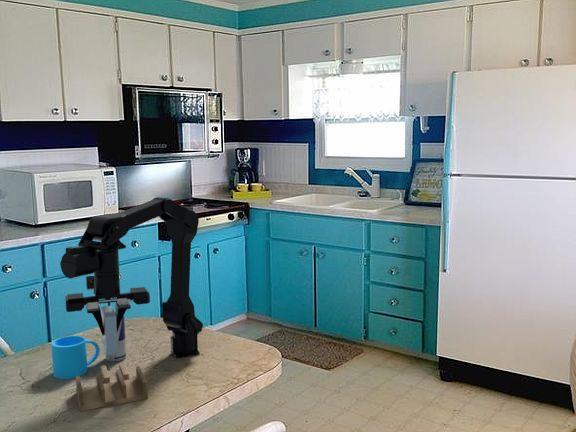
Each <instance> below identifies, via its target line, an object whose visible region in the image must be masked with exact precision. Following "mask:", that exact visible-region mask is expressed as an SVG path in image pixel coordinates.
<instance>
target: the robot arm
mask: <svg viewBox="0 0 576 432" xmlns="http://www.w3.org/2000/svg"><path fill="white" fill-rule="evenodd" d="M156 218H159V219H160V220H162V221H163V222H165V224H166V225H165V226H166V233H167V235H168V236H169V239H170V241H171V263H170V264H171V265H170V266H171V268H170V269H171V270H170V294H169V296H168V299H166V301H162V304H161V315H160V317H161V318H162V321H163V323H164V324H165V326H166V329H167V331H170V332H172V334H171V335H172V336H170V351H171V353H172V354H173V356H175V358H185V357H189V356H196V355H198V356H199V355H200V353H201V352H200V351H199V349H198V345H199V343H198V335H199V333H201V332H202V331H203V327H204V324H203V322H202V321H201V320H200V319H199V318H198V317H197V316H196V312H195V305H194V303H193V300H192V299H191V296H190V283H191V282H190V279H191V278H190V277H191V276H190V274H191V251H192V248H191V247H192V242H193V241H194V239H195V237H196V235H197V234H198V228H199V222H200V218H199V215H198V214H197V212H195V210H193V209H192V210H191V209H189V208H186V207H184V206H183V205H181V204H179V203H176V202H175V201H174V200H172V199H171V198H169V197H162V196H161V197H160V196H158V197H157V196H156V197H154V198H152V199H151V200H148V201H146V202H143V203H141V204H139V205H136V206H134V207H130V208H129V209H126V210H123V211H121V212H116V213H107V214H106V213H104V214H100V215H99V214H98V215H95V216H92V217H91V218H90V219H89V220H88V224H87V227H86V230H85V231H84V232H83V234H82V237H81V238H80V240H79V242H78V244H77V246H68V247H65V253H63V255H62V256H61V258H60V259H61V260H60V261H59V262H60V263H59V265H60V270H61V272H62V274H63V275H64V276H65V278H67V279H70V280H71V279H75V278H78V277H83V276H85V285H86V290H87V291H89V290H93V295H91V296H84V293H83V292H79V293H68V294H67V295H65V298H64V300H65V303H64V304H65V311H66V312H67V313H72V312H81V311H82V310H83V309H84V308H85V309H86V313H87V314H92V316H93V318H94V319H95V321H96V322H97V325H98V327H99V330H100V332H101V335H102V336H103V335H104V326H103V321H102V314H101V307H100V304H109V303H114V304H115V310H114V312H115V315H116V325H117V331H118V329H119V326H120V323H121V320H122V318H123V316H124V317H125V313H126V311H127V310H130V309H131V308H132V307H131V301H132V302H133V303H134V304H136V305H145V304H146V305H147V304H149V303H151V295H150V292H149V291H148V289H147V288H146V287H145V286H141V287H131V288H129V292H121V283H120V282H121V280H120V279H121V278H120V275H121V274H120V257H119V255H120V254H119V253H120V252H119V250H122V249H123V250H124V249H126V248H127V245H126V244H124V243H123V242H122V241H121V239H122V238H123V237H125V236H126V235H127V234H128V233H129V231H130V230H131V229H132V228H135V227H137V226H139V225H142V224H144V223H147V222H149V221H151V220H153V219H156Z"/></svg>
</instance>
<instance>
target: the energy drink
mask: <svg viewBox="0 0 576 432" xmlns="http://www.w3.org/2000/svg"><path fill="white" fill-rule="evenodd" d="M125 324H126V322H125V315H124V316H123V318H122V320H121V323H120V326H119V329H118V331H117V348H118V354H111V355H106V352H105V351H104V352H105V359H106V361H108V362H114V363H115V362H120V361H123V360H124V359H126V357H127V346H126V345H127V343H126V327H125V326H126V325H125Z"/></svg>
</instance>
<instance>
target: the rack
mask: <svg viewBox="0 0 576 432" xmlns="http://www.w3.org/2000/svg"><path fill="white" fill-rule="evenodd" d="M115 373H116V381H114V382H110V383H106V384H104V382H103V378H102V375H101V372H96V374H95V375H96V385H90V386H85V387H83V386H82V382H81V378H80V376H76V377H75V385H76V386H75V387H76V389H75V392H76V398H77V405H78V410H79V412H83V411H87V410H88V411H89V410H92V409H99V408H105V407H110V406H114V405H120V404H126V403H131V402H138V401H143V400H146V399H148V398H149V394H148V382H147V380H146V377H145V375H144V373H143V370H142V369H141V367H140V365H138V366H135V377H136V378H129V380H124V379H123V376H122V374H121V371H120V369H119V368H118V369H116V372H115Z"/></svg>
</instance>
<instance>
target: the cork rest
mask: <svg viewBox="0 0 576 432" xmlns="http://www.w3.org/2000/svg"><path fill="white" fill-rule="evenodd" d="M118 369H120V371H121V374H122V376H123V379H124V380H130V375H129V371H128V369H127V366H126V364H125V362H124V361H123V362H118ZM100 375H101V378H102V382H103V384H106V383H111V379H110V374H109V371H108V369H107V366H106V365H100Z"/></svg>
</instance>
